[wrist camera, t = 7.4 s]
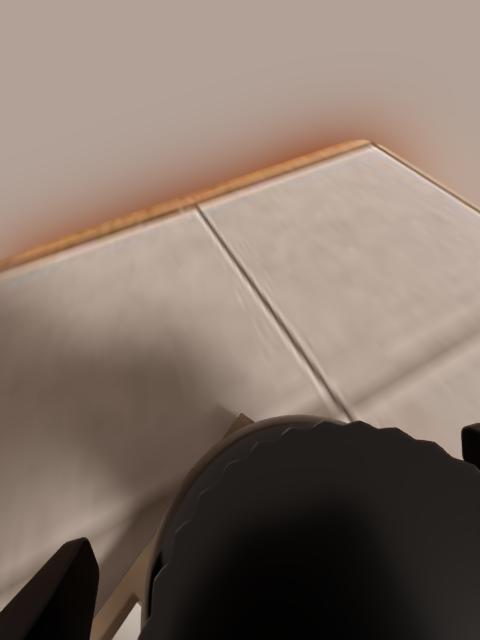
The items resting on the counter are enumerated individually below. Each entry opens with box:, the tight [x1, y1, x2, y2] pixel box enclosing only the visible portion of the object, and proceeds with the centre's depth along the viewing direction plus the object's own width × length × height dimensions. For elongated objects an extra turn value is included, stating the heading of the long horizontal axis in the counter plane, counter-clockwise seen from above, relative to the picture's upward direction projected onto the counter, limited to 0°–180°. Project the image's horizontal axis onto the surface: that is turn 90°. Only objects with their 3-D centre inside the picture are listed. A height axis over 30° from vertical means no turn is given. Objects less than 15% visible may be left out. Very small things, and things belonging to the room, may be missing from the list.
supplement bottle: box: [137, 415, 480, 640], centre depth 8 cm, size 7×7×12 cm
